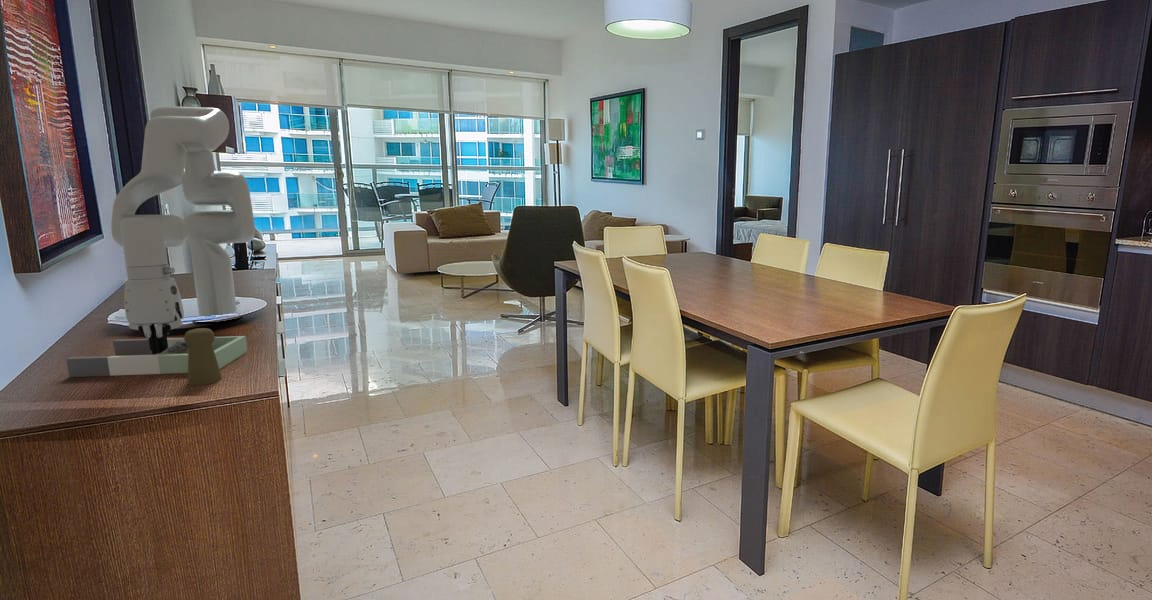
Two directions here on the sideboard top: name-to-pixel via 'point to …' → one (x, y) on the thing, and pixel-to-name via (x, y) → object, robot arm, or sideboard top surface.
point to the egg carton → (177, 349)
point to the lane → (150, 358)
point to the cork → (201, 357)
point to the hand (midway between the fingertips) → (159, 353)
